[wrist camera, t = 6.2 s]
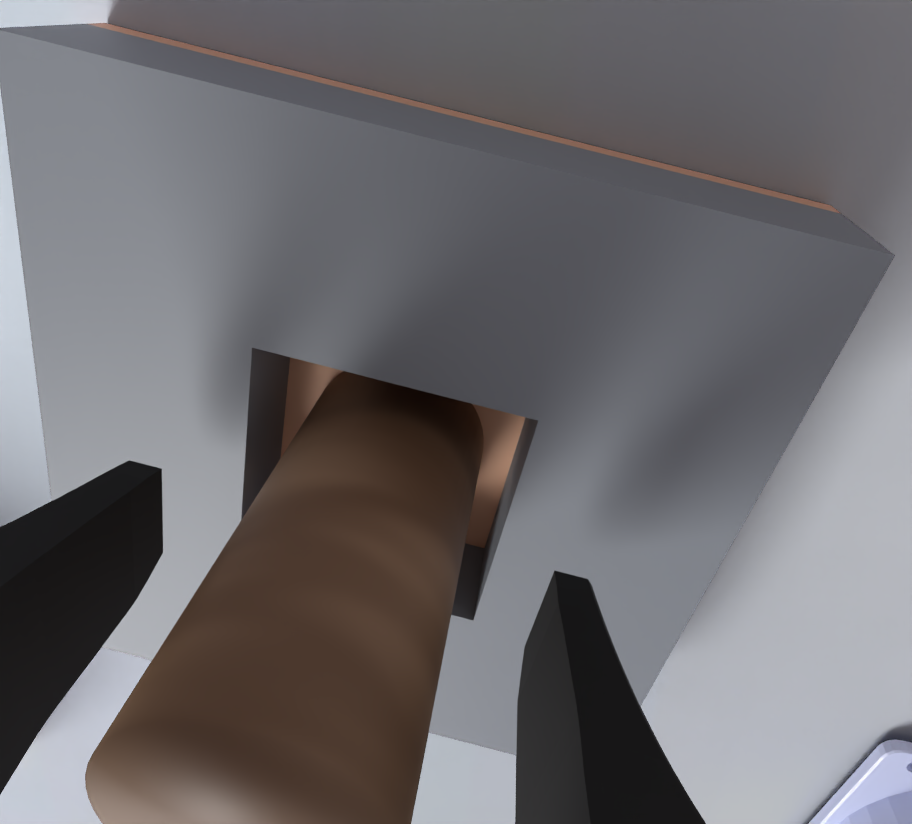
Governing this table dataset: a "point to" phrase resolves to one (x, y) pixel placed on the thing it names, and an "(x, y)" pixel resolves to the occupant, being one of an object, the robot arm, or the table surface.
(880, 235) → the table surface
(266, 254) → the socket block
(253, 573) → the peg
